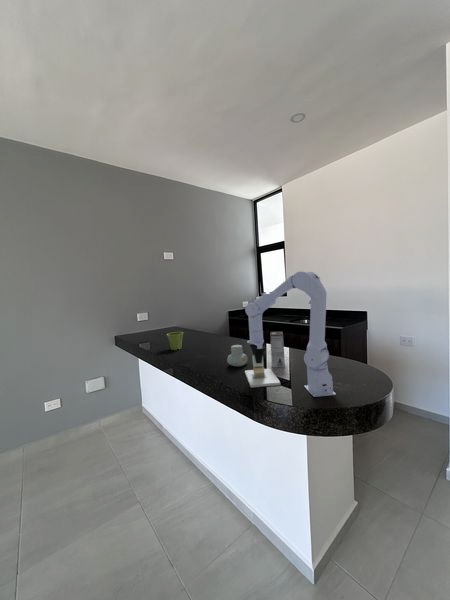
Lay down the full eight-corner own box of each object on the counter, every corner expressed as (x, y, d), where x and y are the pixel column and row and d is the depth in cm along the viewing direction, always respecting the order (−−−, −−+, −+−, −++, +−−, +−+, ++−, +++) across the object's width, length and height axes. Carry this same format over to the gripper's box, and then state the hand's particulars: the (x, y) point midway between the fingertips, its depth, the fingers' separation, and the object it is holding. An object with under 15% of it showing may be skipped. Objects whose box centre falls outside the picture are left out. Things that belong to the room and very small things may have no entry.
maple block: (264, 377, 107) (264, 367, 106) (255, 377, 106) (254, 368, 106) (262, 374, 111) (262, 365, 110) (253, 374, 110) (253, 365, 110)
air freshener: (240, 369, 123) (239, 348, 123) (225, 367, 127) (224, 348, 127) (249, 362, 133) (248, 344, 132) (235, 361, 137) (234, 343, 136)
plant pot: (164, 349, 178) (163, 334, 177) (178, 346, 186) (177, 331, 185) (173, 352, 169) (172, 335, 168) (187, 348, 177) (186, 332, 176)
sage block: (263, 365, 106) (263, 356, 106) (254, 366, 106) (253, 357, 106) (261, 363, 110) (261, 354, 110) (252, 364, 110) (252, 355, 110)
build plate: (280, 384, 100) (280, 382, 100) (250, 387, 99) (250, 384, 99) (270, 370, 118) (270, 368, 118) (244, 372, 117) (244, 370, 117)
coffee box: (272, 362, 131) (270, 331, 131) (284, 361, 130) (282, 331, 129) (271, 367, 122) (269, 334, 122) (285, 367, 121) (283, 334, 120)
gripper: (244, 328, 115) (246, 357, 115) (249, 334, 100) (251, 367, 101) (259, 327, 115) (261, 356, 116) (266, 332, 101) (268, 366, 101)
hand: (257, 361), depth 108 cm, fingers closed on sage block, 4 cm apart
